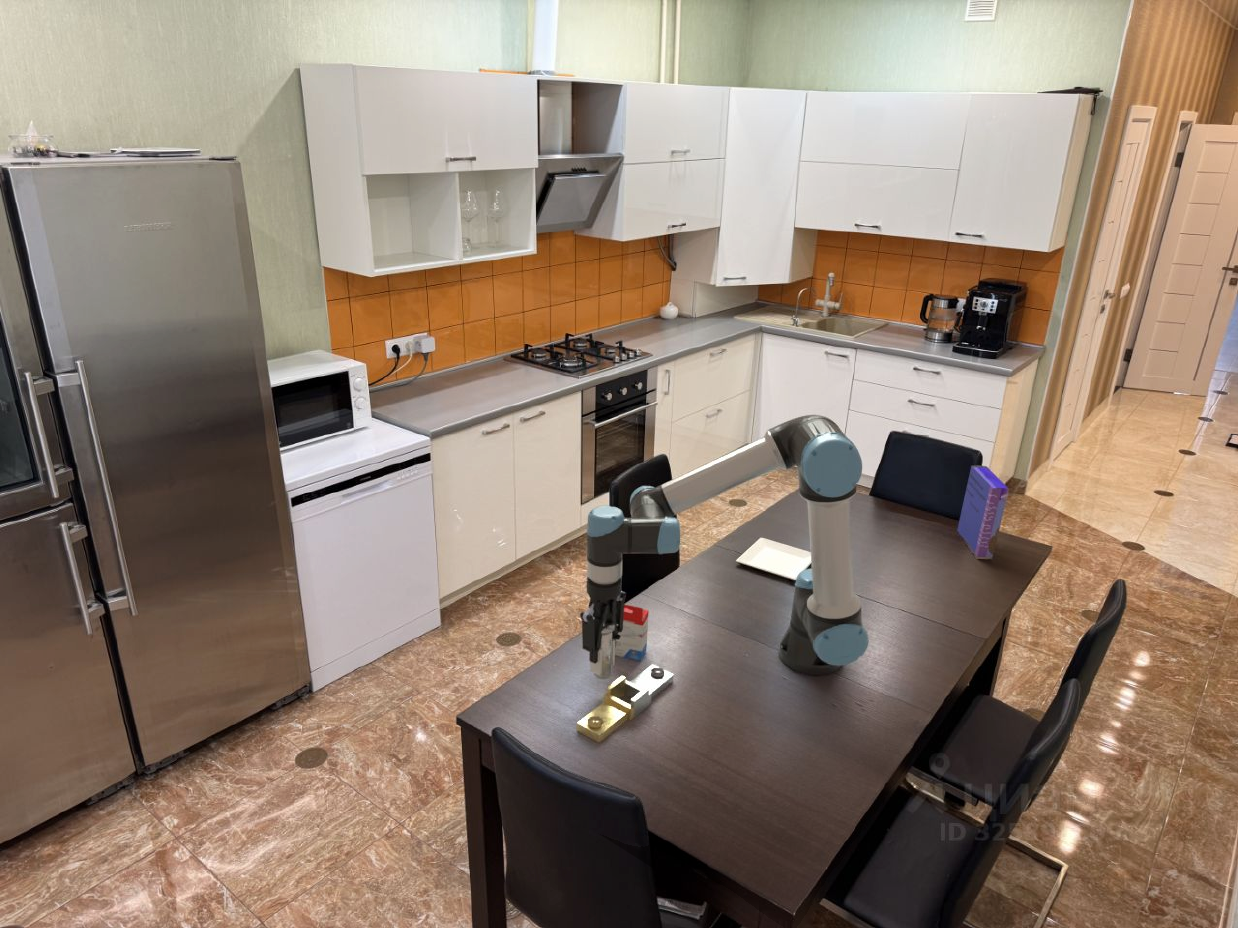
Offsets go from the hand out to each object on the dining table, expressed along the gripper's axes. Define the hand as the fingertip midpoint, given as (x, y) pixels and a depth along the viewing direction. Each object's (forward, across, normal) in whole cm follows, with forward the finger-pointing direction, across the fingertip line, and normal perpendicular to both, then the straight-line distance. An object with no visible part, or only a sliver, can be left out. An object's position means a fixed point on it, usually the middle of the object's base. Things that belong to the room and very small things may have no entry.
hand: (602, 667), depth 194 cm
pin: (+2, 0, 0) cm, 2 cm away
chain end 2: (+6, -5, +7) cm, 11 cm away
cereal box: (+9, -134, +43) cm, 141 cm away
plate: (+8, -82, +1) cm, 82 cm away
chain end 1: (+6, +6, +8) cm, 11 cm away
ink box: (+7, -16, -4) cm, 17 cm away
